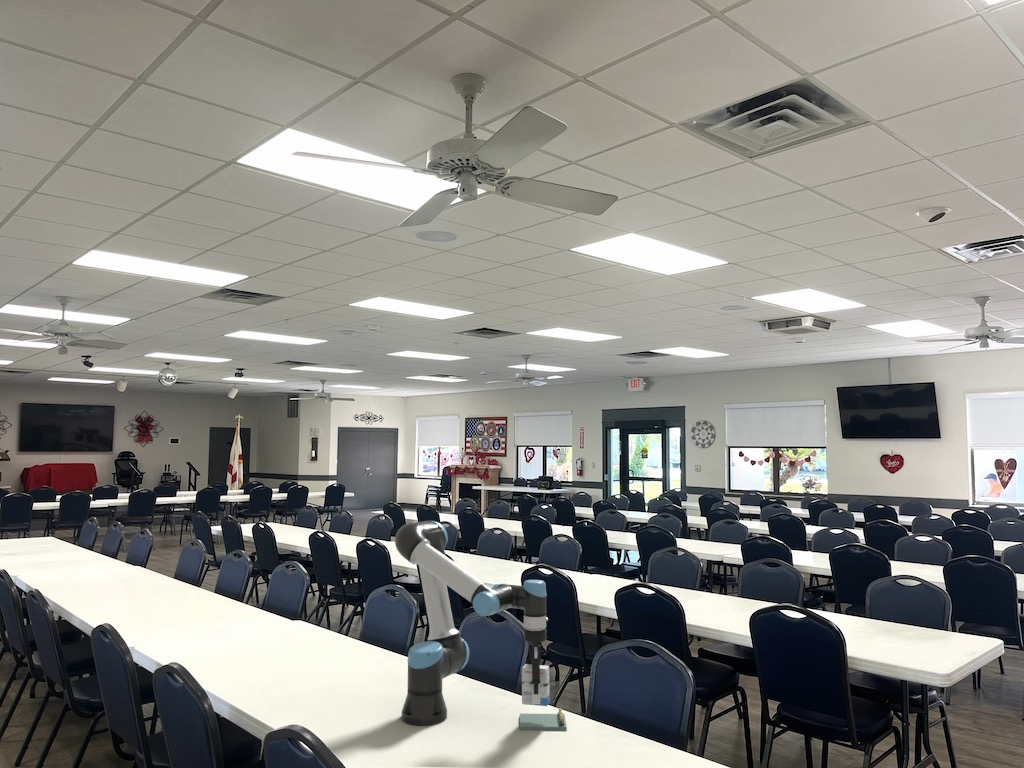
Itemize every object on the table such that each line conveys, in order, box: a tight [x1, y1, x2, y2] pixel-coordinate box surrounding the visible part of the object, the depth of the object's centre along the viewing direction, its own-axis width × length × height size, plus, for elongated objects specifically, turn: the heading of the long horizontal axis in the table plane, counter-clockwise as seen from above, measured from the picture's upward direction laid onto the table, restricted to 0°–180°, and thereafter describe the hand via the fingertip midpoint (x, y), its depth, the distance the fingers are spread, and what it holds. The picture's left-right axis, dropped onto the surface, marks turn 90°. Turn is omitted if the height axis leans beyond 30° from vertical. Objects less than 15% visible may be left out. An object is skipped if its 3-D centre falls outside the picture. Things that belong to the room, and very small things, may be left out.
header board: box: [519, 707, 568, 731], centre depth 237 cm, size 15×12×4 cm
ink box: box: [521, 663, 551, 707], centre depth 238 cm, size 8×5×12 cm, turn 75°
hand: (535, 700), depth 238 cm, fingers closed on ink box, 6 cm apart
